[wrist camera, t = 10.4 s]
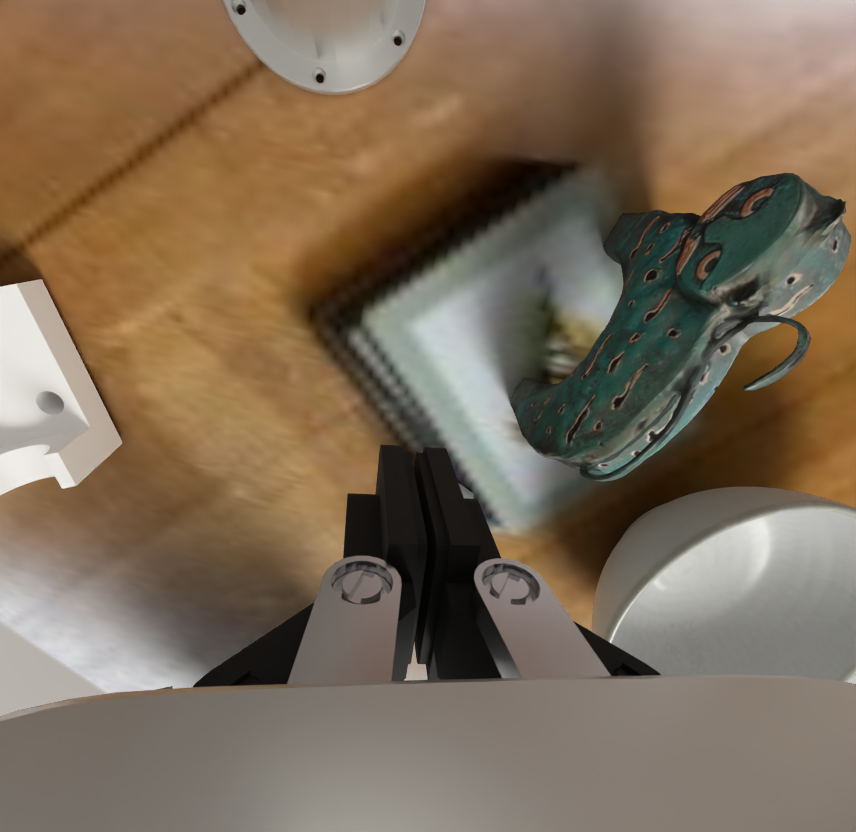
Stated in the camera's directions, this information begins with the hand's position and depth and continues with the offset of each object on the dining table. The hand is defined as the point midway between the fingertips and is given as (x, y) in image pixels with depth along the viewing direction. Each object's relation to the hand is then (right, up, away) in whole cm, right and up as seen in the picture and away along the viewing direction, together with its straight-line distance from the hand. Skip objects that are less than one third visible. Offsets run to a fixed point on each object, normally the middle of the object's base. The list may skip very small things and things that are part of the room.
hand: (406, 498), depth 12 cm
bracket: (-29, +5, +24) cm, 38 cm away
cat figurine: (+13, +10, +27) cm, 32 cm away
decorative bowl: (+26, -12, +38) cm, 48 cm away
